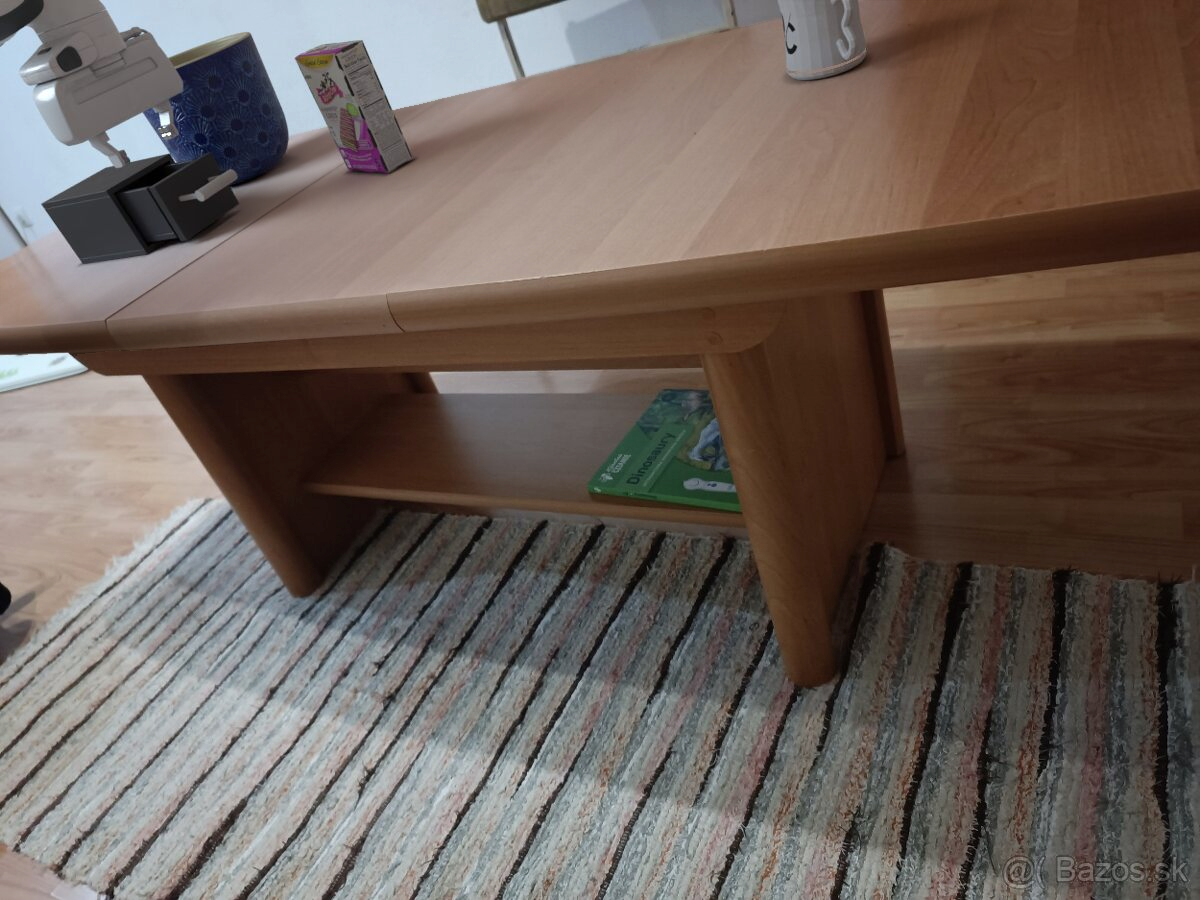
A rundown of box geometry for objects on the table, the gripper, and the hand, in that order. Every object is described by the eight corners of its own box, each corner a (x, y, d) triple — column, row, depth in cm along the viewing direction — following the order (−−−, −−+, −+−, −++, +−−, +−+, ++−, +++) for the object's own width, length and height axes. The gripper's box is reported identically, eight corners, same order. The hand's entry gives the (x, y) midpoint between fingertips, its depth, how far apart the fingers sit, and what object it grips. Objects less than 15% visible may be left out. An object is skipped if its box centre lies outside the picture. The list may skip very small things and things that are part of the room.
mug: (775, 74, 104) (760, -16, 98) (845, 48, 104) (834, -43, 99) (820, 94, 94) (806, -5, 88) (897, 64, 94) (889, -36, 89)
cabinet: (205, 214, 131) (170, 153, 126) (147, 254, 123) (106, 190, 117) (142, 225, 138) (105, 167, 132) (82, 263, 129) (40, 203, 124)
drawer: (264, 199, 125) (235, 146, 120) (212, 236, 117) (179, 181, 112) (177, 214, 133) (147, 165, 128) (123, 250, 125) (89, 199, 120)
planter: (302, 168, 137) (239, 43, 126) (179, 213, 137) (106, 92, 126) (312, 137, 154) (257, 24, 143) (202, 177, 154) (139, 67, 143)
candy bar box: (346, 173, 126) (291, 57, 117) (373, 158, 129) (321, 43, 119) (387, 175, 119) (332, 51, 110) (415, 159, 121) (363, 37, 112)
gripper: (129, 27, 119) (184, 126, 127) (7, 77, 105) (77, 185, 113) (160, 17, 116) (214, 119, 124) (38, 67, 102) (109, 179, 110)
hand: (148, 151), depth 118 cm, fingers open, 8 cm apart
